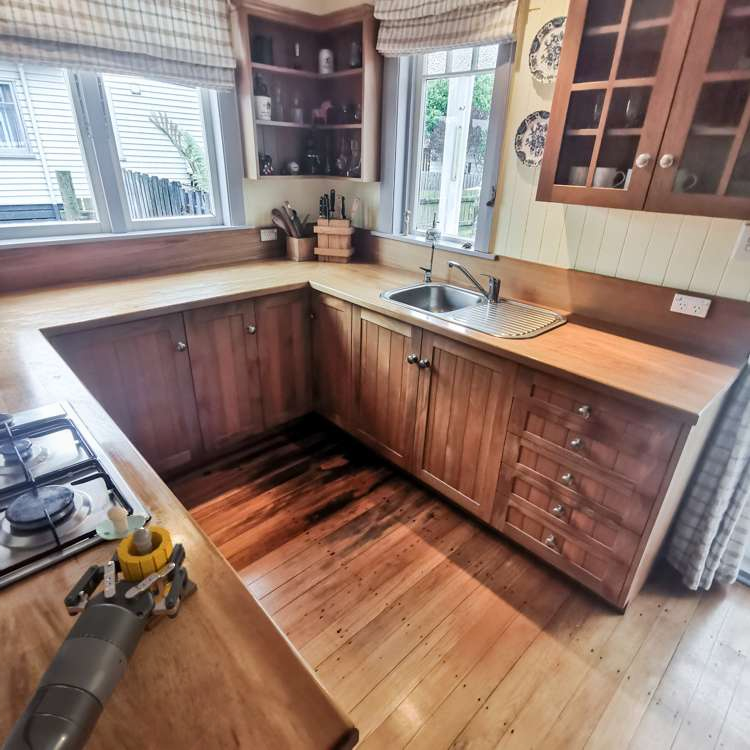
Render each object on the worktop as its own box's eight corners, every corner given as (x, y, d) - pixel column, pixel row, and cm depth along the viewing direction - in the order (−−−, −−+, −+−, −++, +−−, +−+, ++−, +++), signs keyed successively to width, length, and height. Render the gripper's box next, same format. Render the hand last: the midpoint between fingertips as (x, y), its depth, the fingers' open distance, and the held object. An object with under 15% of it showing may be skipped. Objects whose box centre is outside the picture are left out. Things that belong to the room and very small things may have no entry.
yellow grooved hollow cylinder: (120, 594, 67) (107, 548, 63) (161, 563, 72) (151, 519, 68) (149, 617, 64) (136, 570, 60) (189, 583, 69) (180, 538, 65)
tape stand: (115, 603, 67) (94, 535, 61) (164, 565, 73) (148, 501, 67) (149, 631, 63) (130, 563, 58) (198, 589, 70) (184, 523, 64)
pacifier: (106, 521, 81) (96, 546, 76) (98, 493, 79) (87, 517, 74) (151, 515, 83) (144, 539, 78) (144, 487, 81) (137, 510, 75)
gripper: (150, 640, 51) (201, 528, 65) (17, 638, 50) (99, 525, 65) (161, 682, 54) (208, 566, 69) (37, 679, 54) (110, 563, 69)
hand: (155, 546), depth 67 cm, fingers closed on yellow grooved hollow cylinder, 6 cm apart
